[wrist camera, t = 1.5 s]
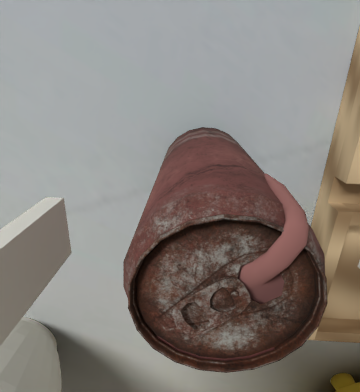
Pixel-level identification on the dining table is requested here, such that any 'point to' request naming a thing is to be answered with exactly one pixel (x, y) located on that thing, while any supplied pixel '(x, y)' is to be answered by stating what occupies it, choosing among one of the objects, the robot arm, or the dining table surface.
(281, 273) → the can
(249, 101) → the dining table surface
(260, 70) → the dining table surface
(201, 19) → the dining table surface
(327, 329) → the tray
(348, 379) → the teapot
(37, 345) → the vase
